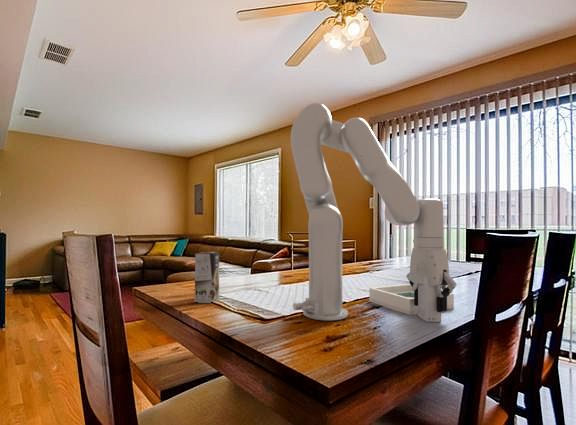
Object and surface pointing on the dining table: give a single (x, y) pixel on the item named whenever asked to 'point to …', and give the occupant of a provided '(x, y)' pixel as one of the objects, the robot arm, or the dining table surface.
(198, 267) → the coffee box
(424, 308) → the skincare box
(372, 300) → the tray
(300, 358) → the dining table surface
